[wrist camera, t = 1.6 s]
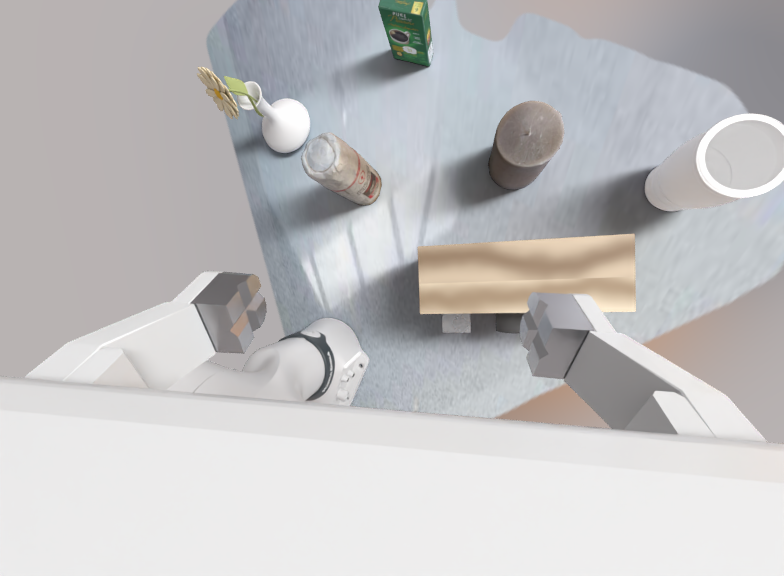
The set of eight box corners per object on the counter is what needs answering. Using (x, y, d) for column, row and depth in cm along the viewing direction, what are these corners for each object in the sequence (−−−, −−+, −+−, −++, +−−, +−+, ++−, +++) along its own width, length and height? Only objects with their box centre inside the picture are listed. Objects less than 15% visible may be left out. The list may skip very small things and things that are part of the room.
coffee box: (436, 53, 63) (428, -4, 50) (430, 68, 63) (421, 16, 51) (398, 44, 65) (381, -12, 52) (393, 59, 65) (375, 6, 52)
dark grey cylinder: (525, 328, 55) (531, 333, 50) (495, 328, 56) (497, 333, 51) (524, 299, 55) (530, 301, 50) (494, 299, 56) (496, 302, 51)
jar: (721, 194, 53) (817, 164, 39) (659, 229, 56) (728, 213, 41) (684, 143, 54) (763, 94, 40) (624, 179, 56) (678, 146, 42)
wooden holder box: (585, 300, 59) (635, 311, 41) (432, 303, 65) (420, 313, 48) (584, 246, 58) (634, 233, 41) (431, 254, 65) (417, 246, 47)
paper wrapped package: (363, 215, 68) (321, 191, 48) (337, 189, 69) (286, 155, 49) (390, 184, 66) (358, 147, 47) (363, 158, 67) (321, 111, 48)
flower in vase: (259, 123, 72) (154, 46, 48) (298, 92, 70) (209, -5, 46) (285, 172, 72) (191, 119, 47) (326, 142, 69) (249, 71, 45)
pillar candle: (478, 162, 62) (481, 129, 47) (520, 126, 60) (538, 80, 45) (510, 200, 61) (524, 179, 46) (554, 165, 59) (583, 131, 44)
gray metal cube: (470, 328, 57) (470, 332, 53) (444, 328, 58) (442, 332, 54) (469, 300, 57) (469, 302, 52) (443, 300, 58) (441, 303, 53)
